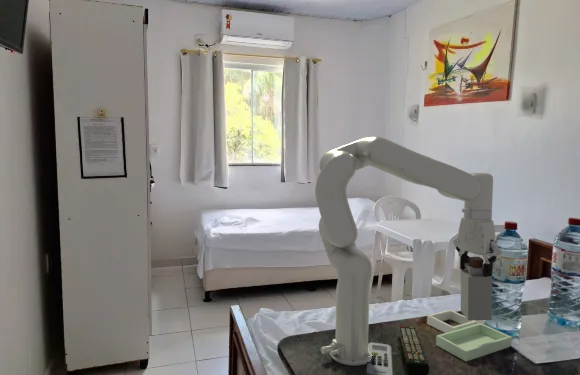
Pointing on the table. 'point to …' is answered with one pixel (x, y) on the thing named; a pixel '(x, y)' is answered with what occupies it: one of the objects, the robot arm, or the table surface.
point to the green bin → (473, 341)
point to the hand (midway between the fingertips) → (475, 272)
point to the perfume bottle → (476, 291)
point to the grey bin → (438, 319)
